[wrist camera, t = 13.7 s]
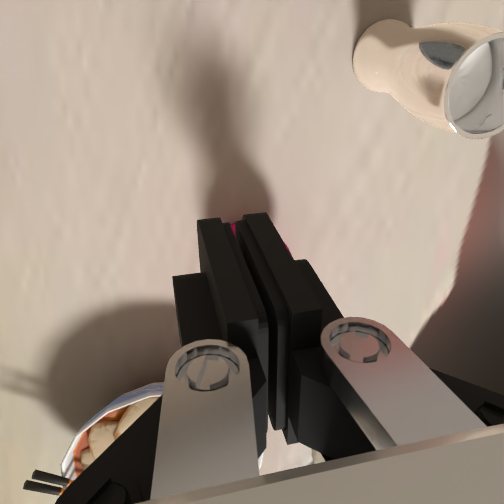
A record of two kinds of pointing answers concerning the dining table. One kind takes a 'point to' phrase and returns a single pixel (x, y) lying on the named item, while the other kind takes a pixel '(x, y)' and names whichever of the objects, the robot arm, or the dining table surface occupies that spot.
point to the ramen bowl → (99, 437)
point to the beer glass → (438, 73)
